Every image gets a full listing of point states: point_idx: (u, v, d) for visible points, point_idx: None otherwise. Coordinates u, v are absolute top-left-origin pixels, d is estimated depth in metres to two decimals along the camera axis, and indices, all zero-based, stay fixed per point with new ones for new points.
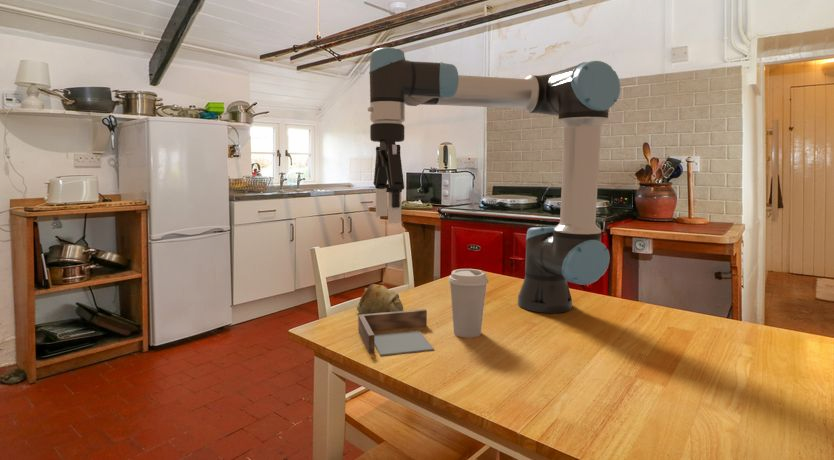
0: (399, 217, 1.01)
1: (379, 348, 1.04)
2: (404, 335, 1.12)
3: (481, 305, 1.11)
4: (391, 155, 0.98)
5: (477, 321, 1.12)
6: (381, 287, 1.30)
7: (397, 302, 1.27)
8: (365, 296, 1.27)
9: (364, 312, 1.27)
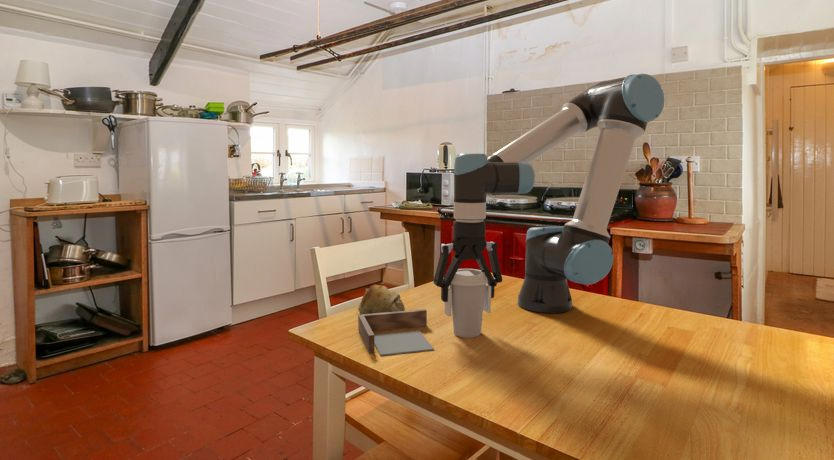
0: (447, 311, 1.12)
1: (379, 348, 1.04)
2: (404, 335, 1.12)
3: (481, 305, 1.11)
4: (441, 254, 1.11)
5: (477, 321, 1.12)
6: (382, 288, 1.29)
7: (399, 303, 1.26)
8: (366, 296, 1.26)
9: (365, 313, 1.27)
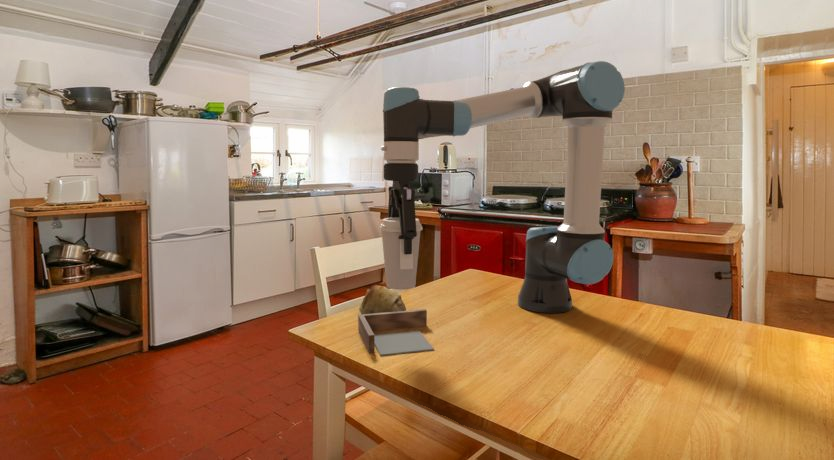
0: (411, 263, 1.01)
1: (379, 348, 1.04)
2: (404, 335, 1.12)
3: None
4: (405, 201, 0.97)
5: None
6: (384, 288, 1.29)
7: (400, 303, 1.26)
8: (368, 297, 1.26)
9: None
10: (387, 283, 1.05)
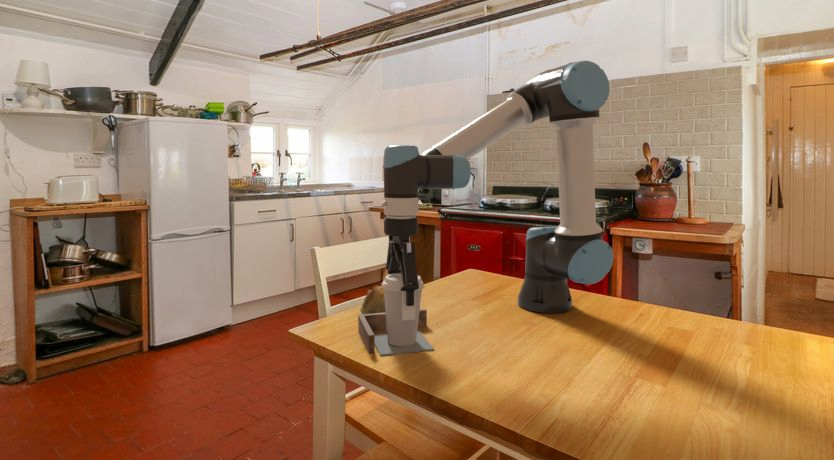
0: (413, 314, 1.01)
1: (379, 348, 1.04)
2: None
3: None
4: (405, 254, 0.98)
5: None
6: None
7: None
8: (369, 298, 1.25)
9: None
10: (388, 339, 1.07)
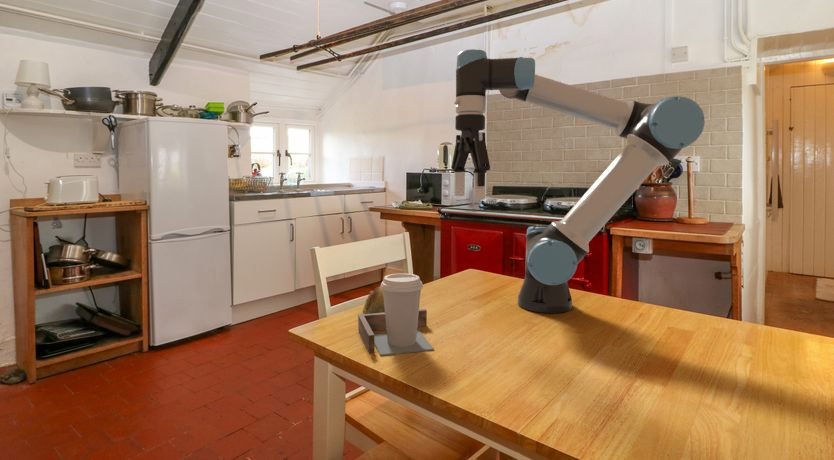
0: (483, 194, 1.18)
1: (379, 348, 1.04)
2: None
3: None
4: (478, 141, 1.15)
5: None
6: None
7: None
8: (372, 299, 1.24)
9: None
10: (388, 340, 1.07)
